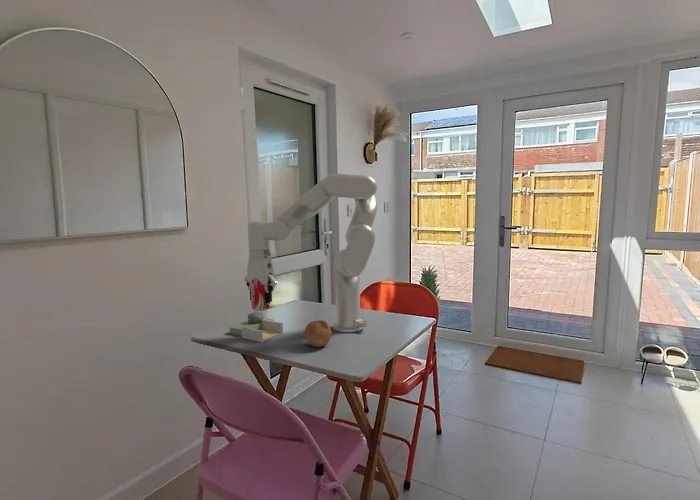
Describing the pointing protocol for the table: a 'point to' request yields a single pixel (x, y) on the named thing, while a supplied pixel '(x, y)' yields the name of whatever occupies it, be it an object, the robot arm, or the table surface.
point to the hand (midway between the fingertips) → (261, 300)
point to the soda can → (258, 296)
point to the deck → (257, 328)
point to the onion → (317, 333)
